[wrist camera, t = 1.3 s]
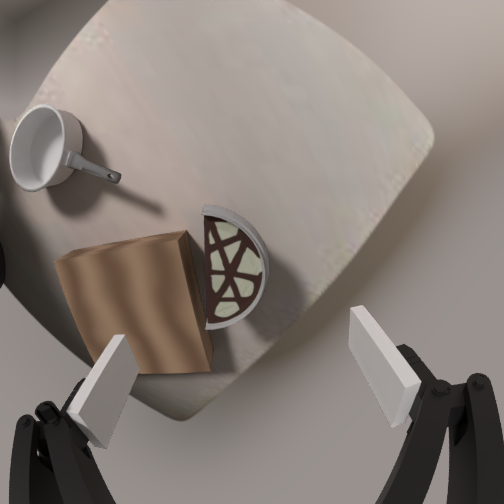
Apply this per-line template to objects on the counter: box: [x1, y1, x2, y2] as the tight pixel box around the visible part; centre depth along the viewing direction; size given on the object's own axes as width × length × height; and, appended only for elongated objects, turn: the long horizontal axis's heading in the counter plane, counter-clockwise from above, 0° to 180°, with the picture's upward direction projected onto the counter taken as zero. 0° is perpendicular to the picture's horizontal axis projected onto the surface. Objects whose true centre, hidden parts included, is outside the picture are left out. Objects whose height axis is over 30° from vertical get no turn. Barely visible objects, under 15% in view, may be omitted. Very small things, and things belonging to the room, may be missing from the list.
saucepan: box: [9, 104, 121, 192], centre depth 26 cm, size 12×20×6 cm, turn 66°
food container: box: [201, 205, 269, 330], centre depth 29 cm, size 12×6×10 cm, turn 178°
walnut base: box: [54, 230, 214, 374], centre depth 33 cm, size 18×18×5 cm
